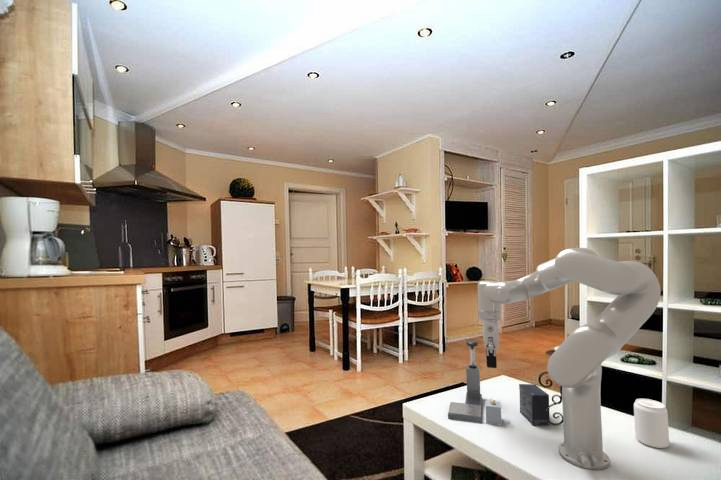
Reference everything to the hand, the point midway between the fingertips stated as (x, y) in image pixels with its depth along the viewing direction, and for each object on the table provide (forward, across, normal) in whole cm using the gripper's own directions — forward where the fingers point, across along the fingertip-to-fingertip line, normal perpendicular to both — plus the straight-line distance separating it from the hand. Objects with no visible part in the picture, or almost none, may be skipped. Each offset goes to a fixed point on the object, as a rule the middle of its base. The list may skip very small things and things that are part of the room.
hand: (491, 363), depth 125 cm
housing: (+20, 0, 0) cm, 20 cm away
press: (+20, +8, +9) cm, 23 cm away
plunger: (+10, +17, +7) cm, 21 cm away
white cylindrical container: (+21, -1, -46) cm, 50 cm away
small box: (+20, +6, -14) cm, 25 cm away
